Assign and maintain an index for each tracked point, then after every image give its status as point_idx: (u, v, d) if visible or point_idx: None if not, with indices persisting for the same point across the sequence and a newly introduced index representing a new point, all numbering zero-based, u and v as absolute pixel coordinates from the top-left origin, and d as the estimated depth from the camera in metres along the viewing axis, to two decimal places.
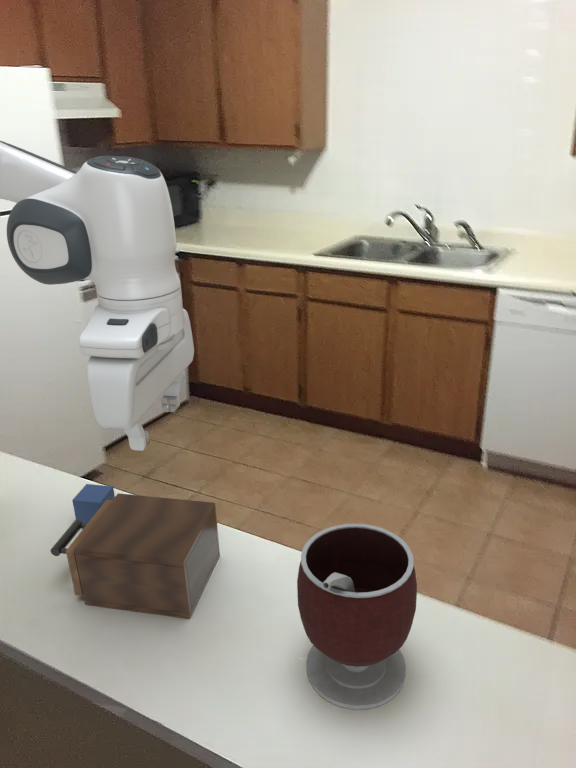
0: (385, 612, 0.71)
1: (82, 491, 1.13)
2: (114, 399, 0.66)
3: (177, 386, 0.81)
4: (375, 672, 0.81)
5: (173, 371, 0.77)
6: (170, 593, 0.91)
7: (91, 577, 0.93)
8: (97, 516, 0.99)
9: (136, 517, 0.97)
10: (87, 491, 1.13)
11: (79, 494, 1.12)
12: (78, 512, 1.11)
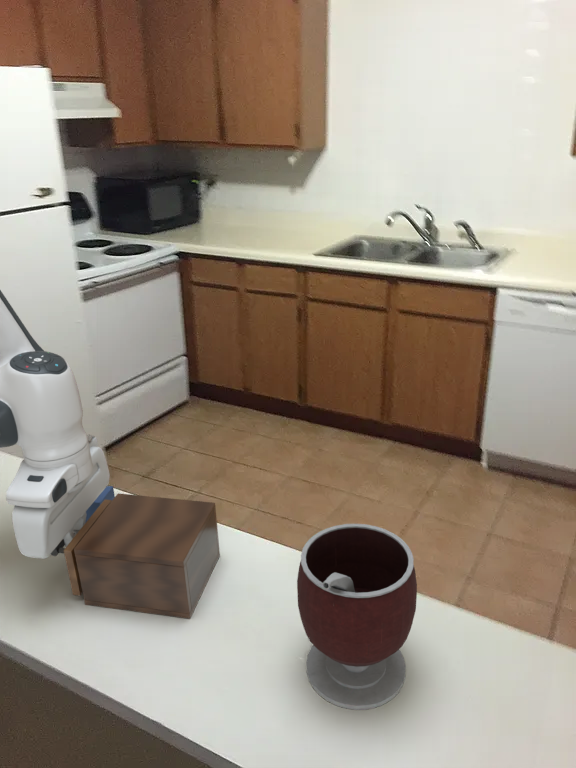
0: (385, 612, 0.71)
1: None
2: (32, 538, 0.88)
3: (82, 522, 1.00)
4: (375, 672, 0.81)
5: (88, 500, 0.99)
6: (170, 593, 0.91)
7: (91, 577, 0.93)
8: (95, 516, 0.99)
9: (136, 517, 0.97)
10: None
11: None
12: None
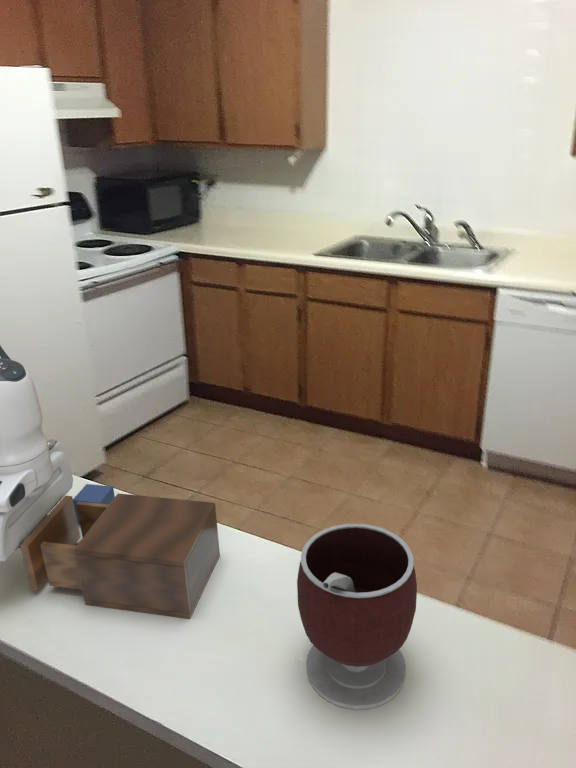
0: (385, 612, 0.71)
1: (82, 491, 1.13)
2: None
3: None
4: (375, 672, 0.81)
5: (49, 504, 1.01)
6: (170, 593, 0.91)
7: (91, 577, 0.93)
8: (54, 512, 1.01)
9: (136, 517, 0.97)
10: (87, 491, 1.13)
11: (79, 494, 1.12)
12: None
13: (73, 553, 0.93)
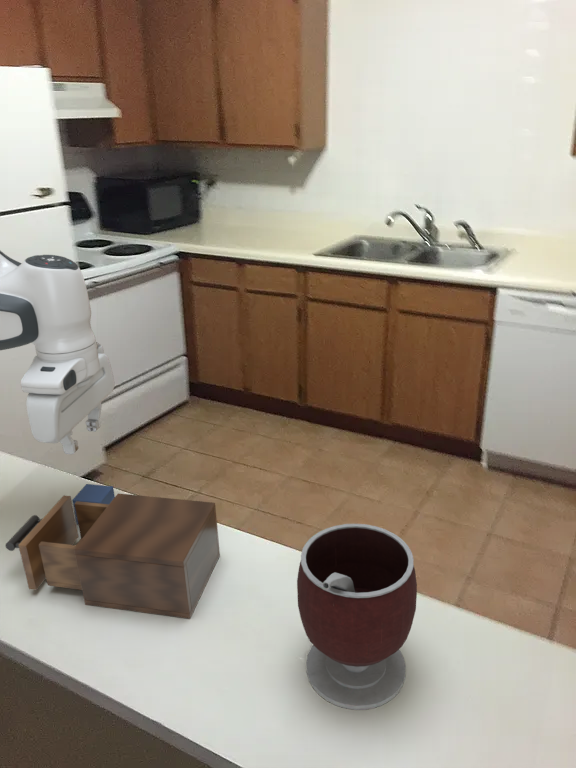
0: (385, 612, 0.71)
1: (82, 491, 1.13)
2: (44, 422, 0.96)
3: (98, 412, 1.11)
4: (375, 672, 0.81)
5: (94, 400, 1.07)
6: (170, 593, 0.91)
7: (91, 577, 0.93)
8: (52, 511, 1.01)
9: (136, 517, 0.97)
10: (87, 491, 1.13)
11: (79, 494, 1.12)
12: None
13: (71, 553, 0.93)
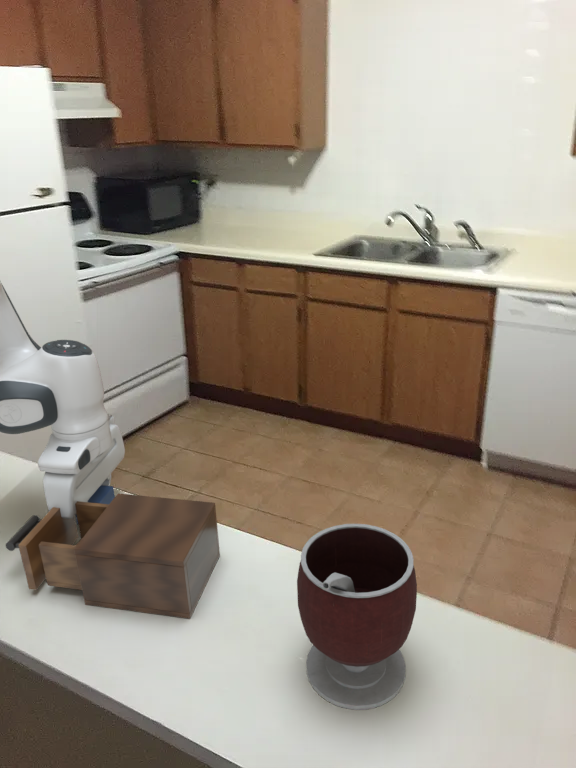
0: (385, 612, 0.71)
1: None
2: (60, 500, 1.01)
3: (108, 482, 1.16)
4: (375, 672, 0.81)
5: (106, 470, 1.13)
6: (170, 593, 0.91)
7: (91, 577, 0.93)
8: (52, 511, 1.01)
9: (136, 517, 0.97)
10: None
11: None
12: None
13: (71, 553, 0.93)
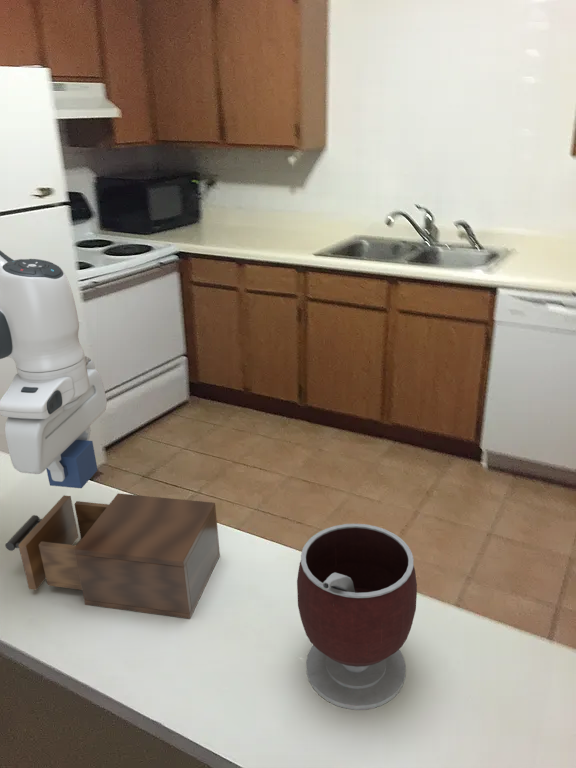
0: (385, 612, 0.71)
1: None
2: (26, 451, 0.84)
3: (86, 437, 0.99)
4: (375, 672, 0.81)
5: (84, 422, 0.96)
6: (170, 593, 0.91)
7: (91, 577, 0.93)
8: (52, 511, 1.01)
9: (136, 517, 0.97)
10: None
11: None
12: None
13: (71, 553, 0.93)
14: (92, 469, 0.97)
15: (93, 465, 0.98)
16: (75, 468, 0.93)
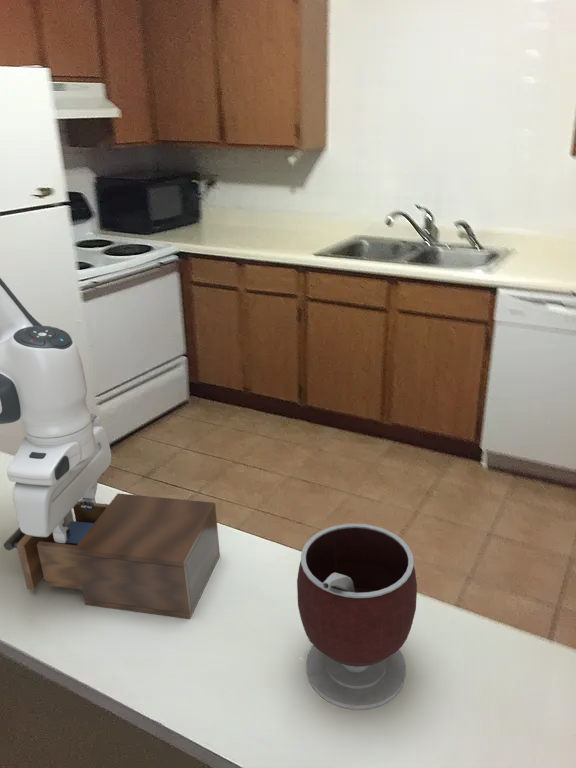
0: (385, 612, 0.71)
1: None
2: (33, 516, 0.86)
3: (93, 490, 1.01)
4: (375, 672, 0.81)
5: (89, 480, 0.98)
6: (170, 593, 0.91)
7: (91, 577, 0.93)
8: None
9: (136, 517, 0.97)
10: (71, 530, 0.99)
11: None
12: None
13: (69, 553, 0.93)
14: None
15: None
16: None
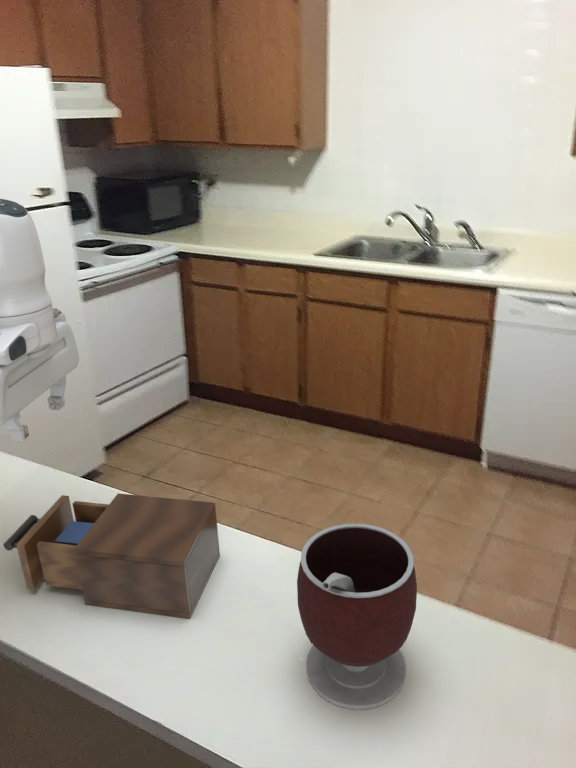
0: (385, 612, 0.71)
1: (66, 530, 0.99)
2: None
3: (61, 388, 0.96)
4: (375, 672, 0.81)
5: (53, 375, 0.91)
6: (170, 593, 0.91)
7: (91, 577, 0.93)
8: (51, 511, 1.01)
9: (136, 517, 0.97)
10: (71, 530, 0.99)
11: (63, 534, 0.99)
12: None
13: (69, 553, 0.93)
14: None
15: None
16: None
